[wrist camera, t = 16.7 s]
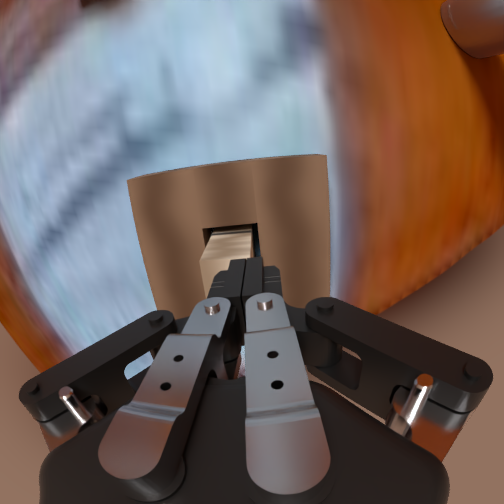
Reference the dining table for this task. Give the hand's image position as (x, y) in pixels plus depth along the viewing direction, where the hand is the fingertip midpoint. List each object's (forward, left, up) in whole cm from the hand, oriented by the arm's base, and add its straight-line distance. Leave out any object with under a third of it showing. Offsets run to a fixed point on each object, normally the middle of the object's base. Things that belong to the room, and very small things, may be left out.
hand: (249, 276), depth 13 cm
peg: (+2, +3, -16) cm, 17 cm away
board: (+2, +3, -16) cm, 17 cm away
